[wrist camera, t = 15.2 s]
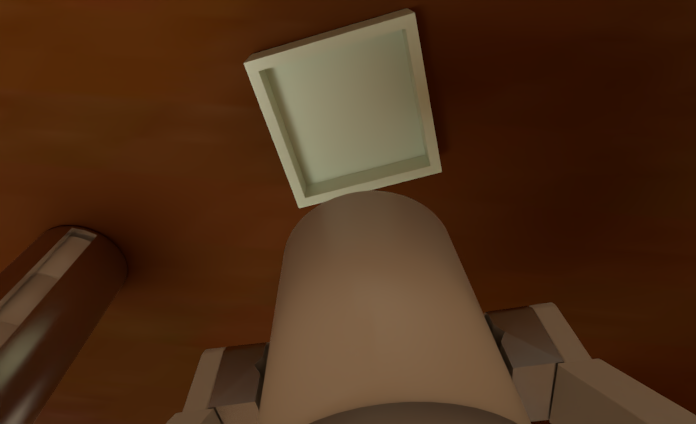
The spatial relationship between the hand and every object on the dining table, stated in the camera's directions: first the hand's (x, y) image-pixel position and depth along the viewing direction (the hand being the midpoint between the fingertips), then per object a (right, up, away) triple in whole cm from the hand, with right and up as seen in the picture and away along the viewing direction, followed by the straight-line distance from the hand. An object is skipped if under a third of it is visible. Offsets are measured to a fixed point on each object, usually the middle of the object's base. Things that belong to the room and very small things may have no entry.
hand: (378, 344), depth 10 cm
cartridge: (0, +2, +3) cm, 3 cm away
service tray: (-1, +10, +16) cm, 19 cm away
